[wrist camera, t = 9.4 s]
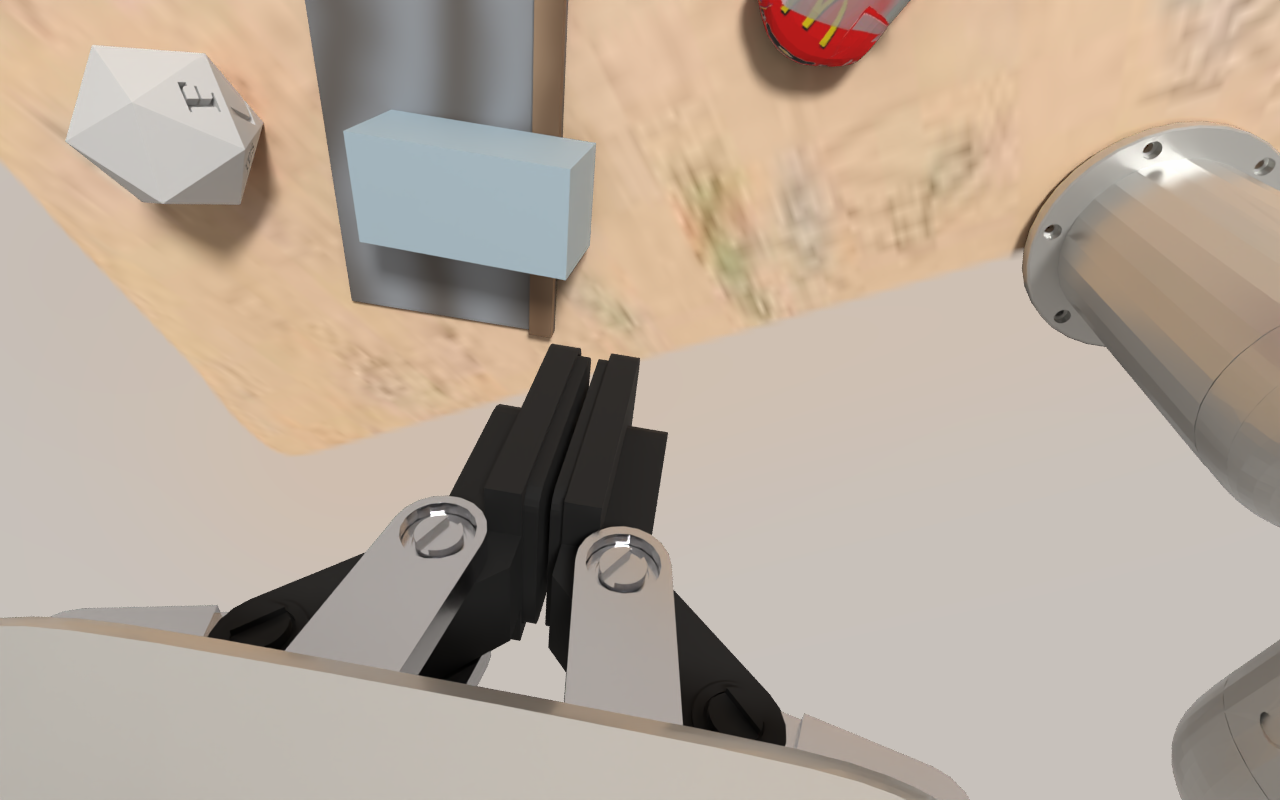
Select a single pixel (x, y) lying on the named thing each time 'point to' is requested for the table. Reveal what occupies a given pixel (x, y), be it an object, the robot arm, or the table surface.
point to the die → (165, 126)
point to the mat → (447, 88)
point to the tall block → (472, 192)
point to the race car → (827, 28)
